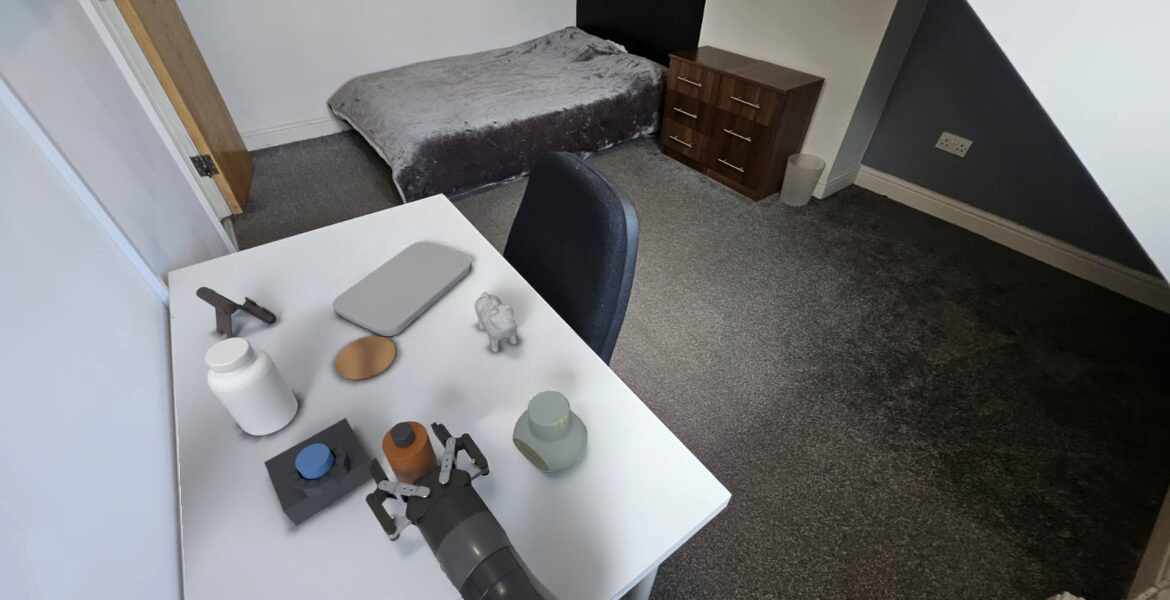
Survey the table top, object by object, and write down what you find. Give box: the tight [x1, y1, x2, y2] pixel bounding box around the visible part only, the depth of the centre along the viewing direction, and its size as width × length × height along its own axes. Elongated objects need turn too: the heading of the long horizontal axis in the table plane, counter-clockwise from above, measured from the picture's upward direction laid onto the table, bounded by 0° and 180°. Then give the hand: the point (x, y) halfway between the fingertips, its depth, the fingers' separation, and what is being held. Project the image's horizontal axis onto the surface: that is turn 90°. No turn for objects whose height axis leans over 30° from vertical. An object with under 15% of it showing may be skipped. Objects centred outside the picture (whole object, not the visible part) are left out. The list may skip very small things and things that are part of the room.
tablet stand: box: [195, 286, 278, 339], centre depth 86 cm, size 9×8×8 cm
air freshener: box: [512, 390, 588, 473], centre depth 67 cm, size 11×8×10 cm
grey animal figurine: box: [474, 291, 519, 353], centre depth 84 cm, size 5×13×11 cm, turn 32°
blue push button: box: [295, 444, 334, 480], centre depth 61 cm, size 4×4×2 cm
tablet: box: [331, 241, 472, 337], centre depth 97 cm, size 16×26×2 cm, turn 153°
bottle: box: [381, 420, 440, 485], centre depth 63 cm, size 6×6×12 cm
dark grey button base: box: [263, 417, 374, 527], centre depth 64 cm, size 11×10×6 cm
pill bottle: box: [204, 337, 299, 436], centre depth 69 cm, size 8×8×15 cm
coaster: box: [335, 335, 397, 381], centre depth 83 cm, size 10×10×1 cm
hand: (405, 444), depth 63 cm, fingers open, 8 cm apart
